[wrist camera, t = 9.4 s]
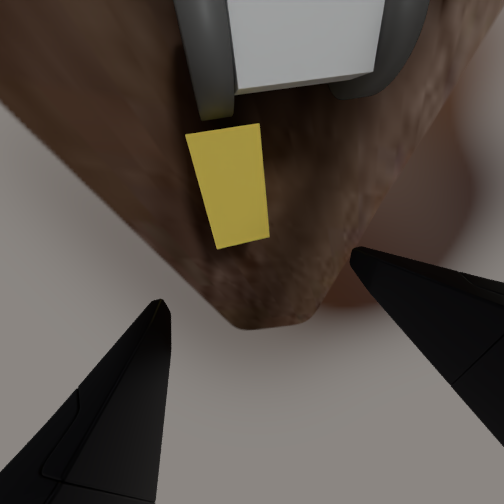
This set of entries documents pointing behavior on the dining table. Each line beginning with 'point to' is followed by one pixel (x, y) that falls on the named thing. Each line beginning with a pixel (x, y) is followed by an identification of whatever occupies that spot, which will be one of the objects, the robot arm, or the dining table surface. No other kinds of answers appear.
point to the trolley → (294, 46)
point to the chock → (232, 182)
